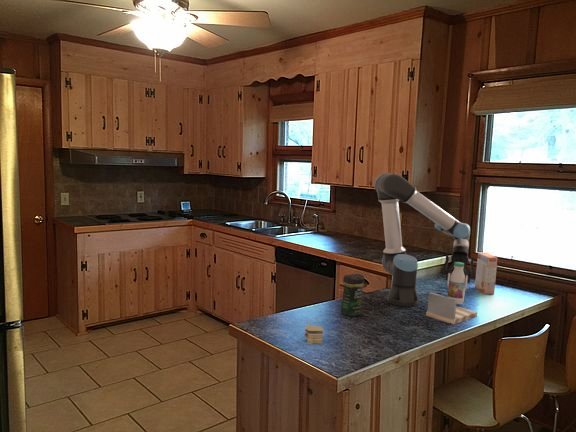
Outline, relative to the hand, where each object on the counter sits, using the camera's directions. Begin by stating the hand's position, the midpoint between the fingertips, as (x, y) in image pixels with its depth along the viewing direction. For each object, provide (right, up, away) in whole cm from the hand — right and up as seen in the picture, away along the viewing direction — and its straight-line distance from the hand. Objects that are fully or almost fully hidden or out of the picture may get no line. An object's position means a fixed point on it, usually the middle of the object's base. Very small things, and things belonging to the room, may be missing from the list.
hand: (456, 286), depth 231 cm
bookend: (-14, -10, -19) cm, 26 cm away
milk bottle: (+1, -8, +4) cm, 10 cm away
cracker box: (+28, -8, +34) cm, 45 cm away
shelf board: (-7, -12, -13) cm, 19 cm away
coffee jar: (-54, -10, -16) cm, 57 cm away
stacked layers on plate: (-73, -14, -51) cm, 90 cm away
